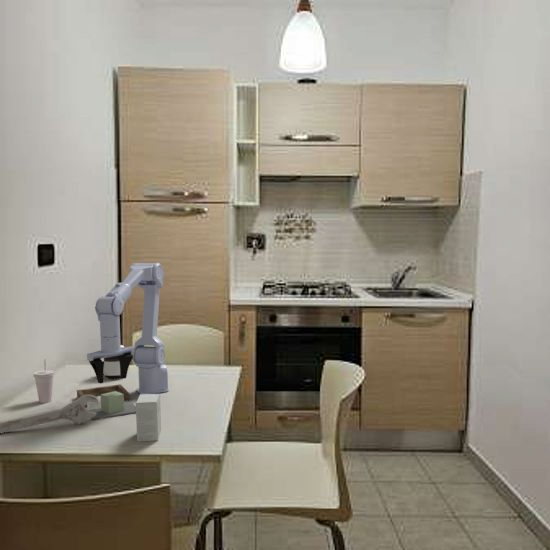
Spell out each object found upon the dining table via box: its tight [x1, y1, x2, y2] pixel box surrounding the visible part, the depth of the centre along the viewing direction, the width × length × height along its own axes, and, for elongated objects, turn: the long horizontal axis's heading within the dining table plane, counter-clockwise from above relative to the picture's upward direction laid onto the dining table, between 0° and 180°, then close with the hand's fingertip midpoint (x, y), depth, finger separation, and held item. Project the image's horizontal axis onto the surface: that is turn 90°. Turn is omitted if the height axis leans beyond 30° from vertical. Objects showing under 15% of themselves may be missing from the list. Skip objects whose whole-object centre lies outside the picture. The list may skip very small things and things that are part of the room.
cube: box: [100, 391, 125, 414], centre depth 177 cm, size 5×5×5 cm
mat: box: [86, 402, 136, 421], centre depth 177 cm, size 14×9×1 cm, turn 118°
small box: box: [135, 393, 162, 443], centre depth 155 cm, size 8×6×10 cm
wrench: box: [0, 394, 100, 434], centre depth 163 cm, size 8×2×30 cm
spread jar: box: [101, 344, 125, 380], centre depth 220 cm, size 12×11×12 cm
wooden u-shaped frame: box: [76, 383, 130, 408], centre depth 191 cm, size 14×12×2 cm
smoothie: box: [33, 358, 55, 404], centre depth 189 cm, size 6×6×14 cm
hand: (112, 380), depth 176 cm, fingers open, 7 cm apart
